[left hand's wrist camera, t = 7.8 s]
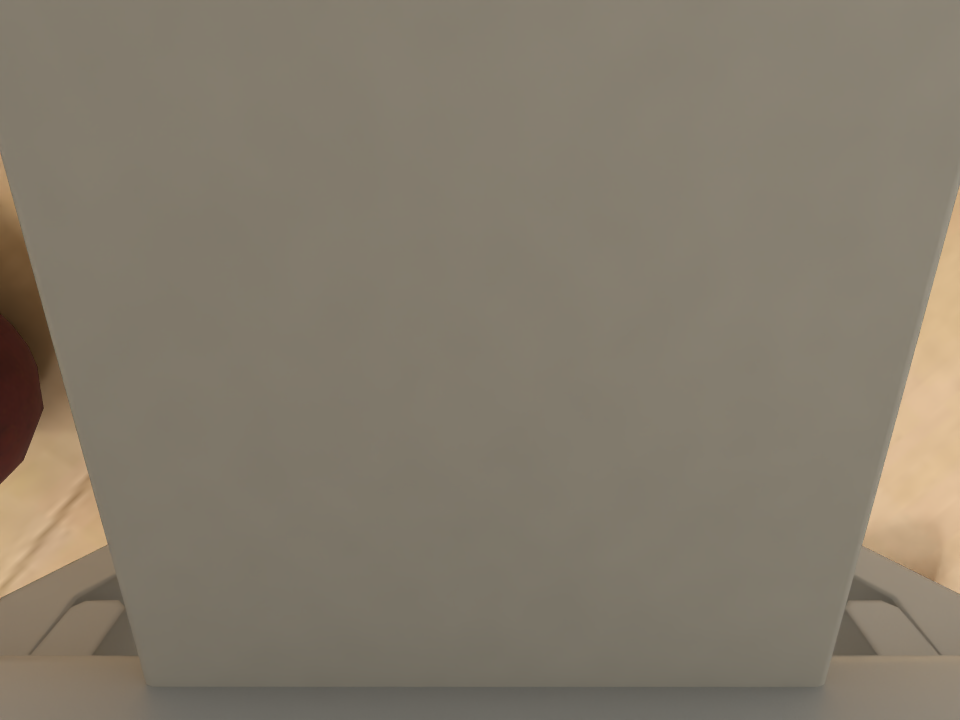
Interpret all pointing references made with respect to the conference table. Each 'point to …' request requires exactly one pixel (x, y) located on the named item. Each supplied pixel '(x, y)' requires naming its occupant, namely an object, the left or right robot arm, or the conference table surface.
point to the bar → (483, 322)
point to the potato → (16, 398)
